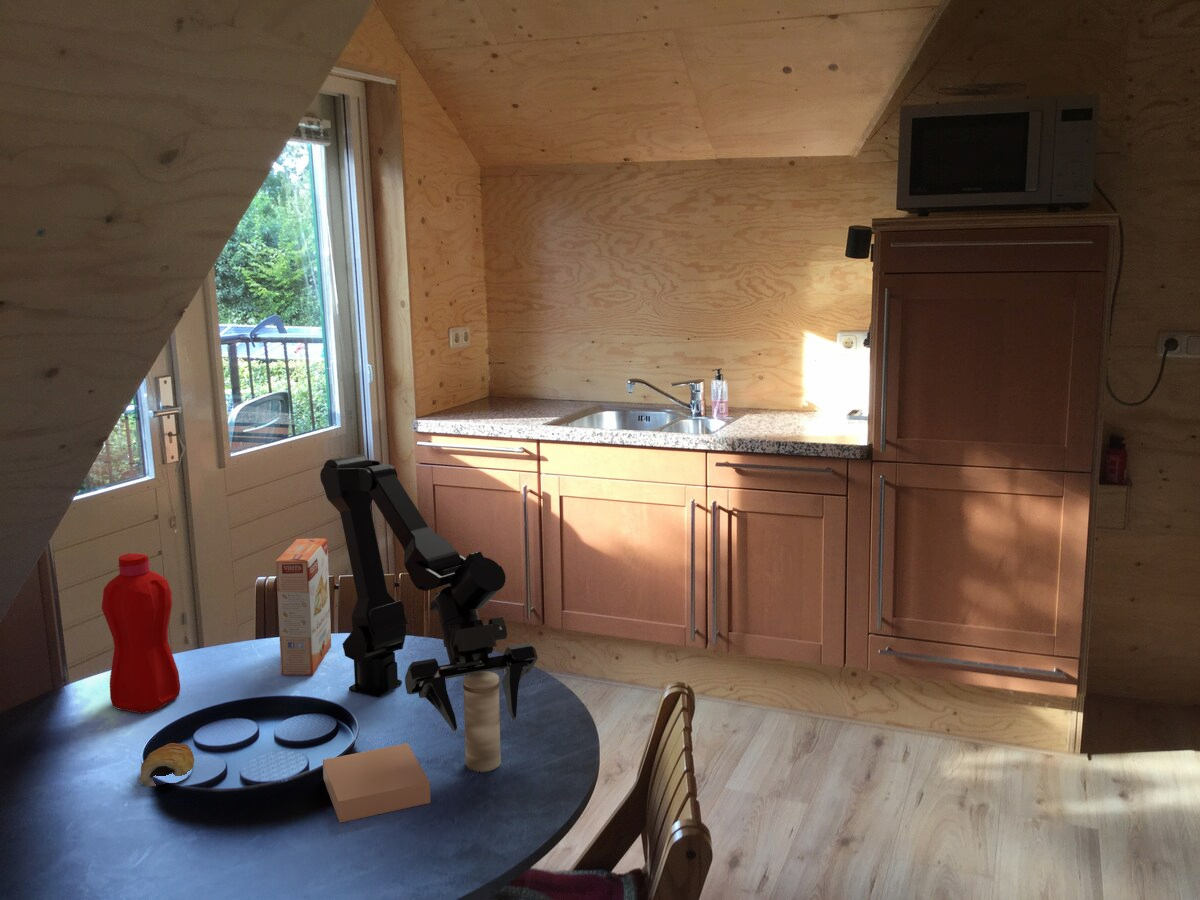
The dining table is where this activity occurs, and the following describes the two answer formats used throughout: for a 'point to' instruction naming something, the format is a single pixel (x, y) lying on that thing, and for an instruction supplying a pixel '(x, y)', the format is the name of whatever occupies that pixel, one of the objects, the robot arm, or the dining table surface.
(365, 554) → the robot arm
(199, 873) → the dining table surface
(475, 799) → the dining table surface
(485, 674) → the birch column
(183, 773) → the pastry
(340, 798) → the terracotta plinth
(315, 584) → the cracker box
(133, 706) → the red bottle
